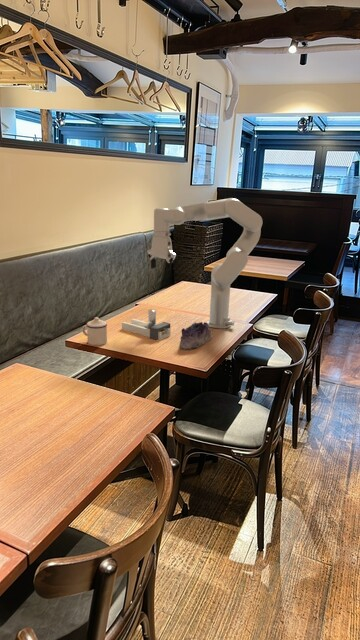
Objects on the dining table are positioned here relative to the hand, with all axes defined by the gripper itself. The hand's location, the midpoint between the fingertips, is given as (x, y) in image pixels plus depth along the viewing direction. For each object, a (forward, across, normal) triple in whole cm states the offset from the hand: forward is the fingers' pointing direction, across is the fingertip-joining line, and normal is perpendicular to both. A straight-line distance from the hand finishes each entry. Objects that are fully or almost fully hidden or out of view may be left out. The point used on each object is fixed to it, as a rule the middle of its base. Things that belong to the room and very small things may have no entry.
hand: (161, 269), depth 224 cm
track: (+28, -3, +15) cm, 32 cm away
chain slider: (+26, -9, +15) cm, 32 cm away
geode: (+29, -30, +12) cm, 43 cm away
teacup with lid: (+28, +6, +40) cm, 49 cm away
